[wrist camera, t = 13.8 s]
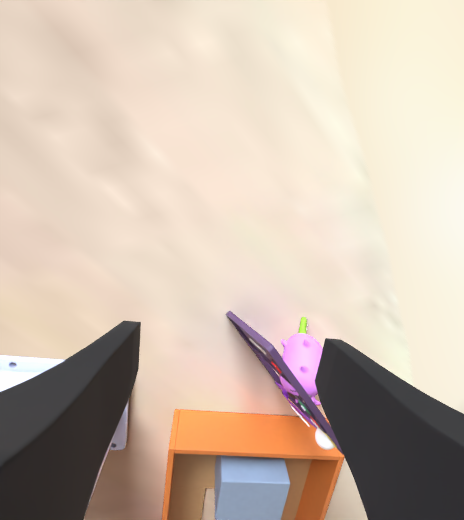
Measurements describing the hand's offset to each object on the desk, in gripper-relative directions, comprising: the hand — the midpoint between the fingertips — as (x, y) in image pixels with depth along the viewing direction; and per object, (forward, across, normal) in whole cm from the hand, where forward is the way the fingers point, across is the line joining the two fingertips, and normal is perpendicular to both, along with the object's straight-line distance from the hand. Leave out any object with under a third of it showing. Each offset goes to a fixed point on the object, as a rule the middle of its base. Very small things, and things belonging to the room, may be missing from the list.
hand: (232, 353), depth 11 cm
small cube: (+9, -4, +16) cm, 19 cm away
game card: (+10, -5, +5) cm, 12 cm away
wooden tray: (+9, -4, +22) cm, 24 cm away
